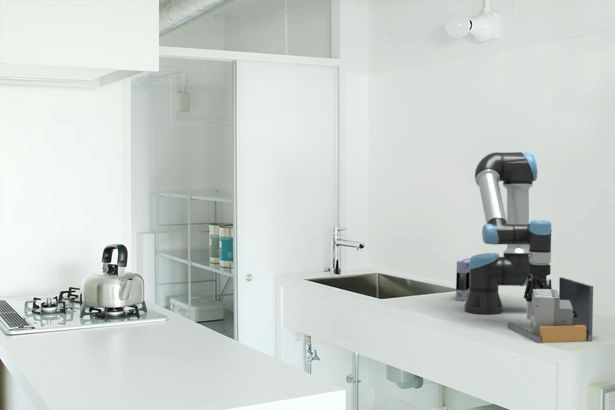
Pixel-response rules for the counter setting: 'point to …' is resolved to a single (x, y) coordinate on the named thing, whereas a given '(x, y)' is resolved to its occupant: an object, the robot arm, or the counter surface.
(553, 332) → the orange rectangular bar
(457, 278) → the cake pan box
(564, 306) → the circuit breaker
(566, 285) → the dark grey piece
